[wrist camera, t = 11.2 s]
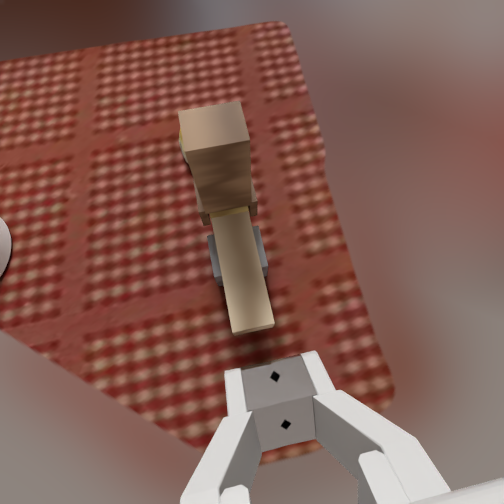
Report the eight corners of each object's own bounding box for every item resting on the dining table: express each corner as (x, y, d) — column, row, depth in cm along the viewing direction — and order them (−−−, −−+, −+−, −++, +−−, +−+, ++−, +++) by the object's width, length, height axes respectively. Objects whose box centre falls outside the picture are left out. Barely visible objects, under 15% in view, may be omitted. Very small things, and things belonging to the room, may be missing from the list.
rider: (203, 225, 35) (176, 153, 23) (198, 195, 36) (170, 112, 24) (257, 215, 35) (257, 138, 23) (250, 185, 36) (246, 99, 25)
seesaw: (228, 340, 35) (219, 332, 26) (203, 204, 41) (190, 162, 32) (279, 329, 35) (287, 317, 27) (247, 195, 41) (245, 151, 33)
